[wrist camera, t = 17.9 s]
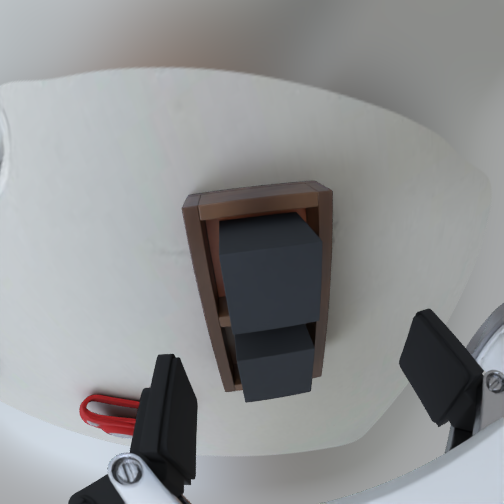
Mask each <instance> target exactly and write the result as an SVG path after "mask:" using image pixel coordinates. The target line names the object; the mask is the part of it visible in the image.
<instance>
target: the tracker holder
mask: <svg viewBox="0 0 504 504" xmlns="http://www.w3.org/2000/svg"><path fill="white" fill-rule="evenodd" d="M91 401H96V402H101V403H106V404H112V405H117V406H123V407H130V408H136V409H138V407H139V402H138V401H132V400H126V399H120V398H114V397H109V396H104V395H91V396H89V397H87V398H86V399H85V400H84V401H83V402H82V403H81V405H80V416H81V418H82V419H83V421H84V422H85V423H87V424H89V425H91V426H94V427H97V428H101V429H102V430H103V431H105V432H106V433H108V434H110V435H113V436H117V437H121V438H132V437H133V432H134V427H135V422H136V419H133V418H123V417H114V416H106V415H99V414H97V413H94V412H90V411H89V410H88V409H87V408H86V406H87V404H88V402H91Z"/></svg>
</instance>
